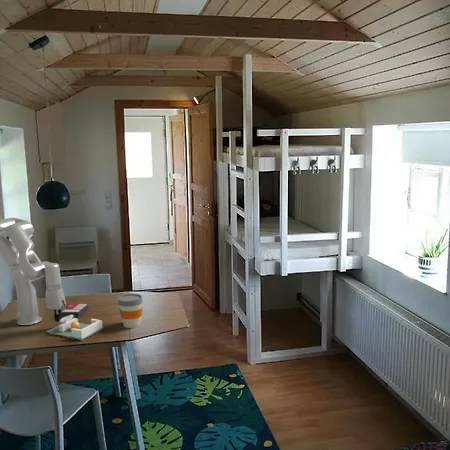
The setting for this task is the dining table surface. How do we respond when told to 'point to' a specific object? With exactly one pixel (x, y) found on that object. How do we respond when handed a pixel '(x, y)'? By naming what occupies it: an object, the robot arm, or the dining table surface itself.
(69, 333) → the pitch
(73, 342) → the dining table surface
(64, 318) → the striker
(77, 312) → the calculator
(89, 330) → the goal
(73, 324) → the ball
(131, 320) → the reusable coffee cup
